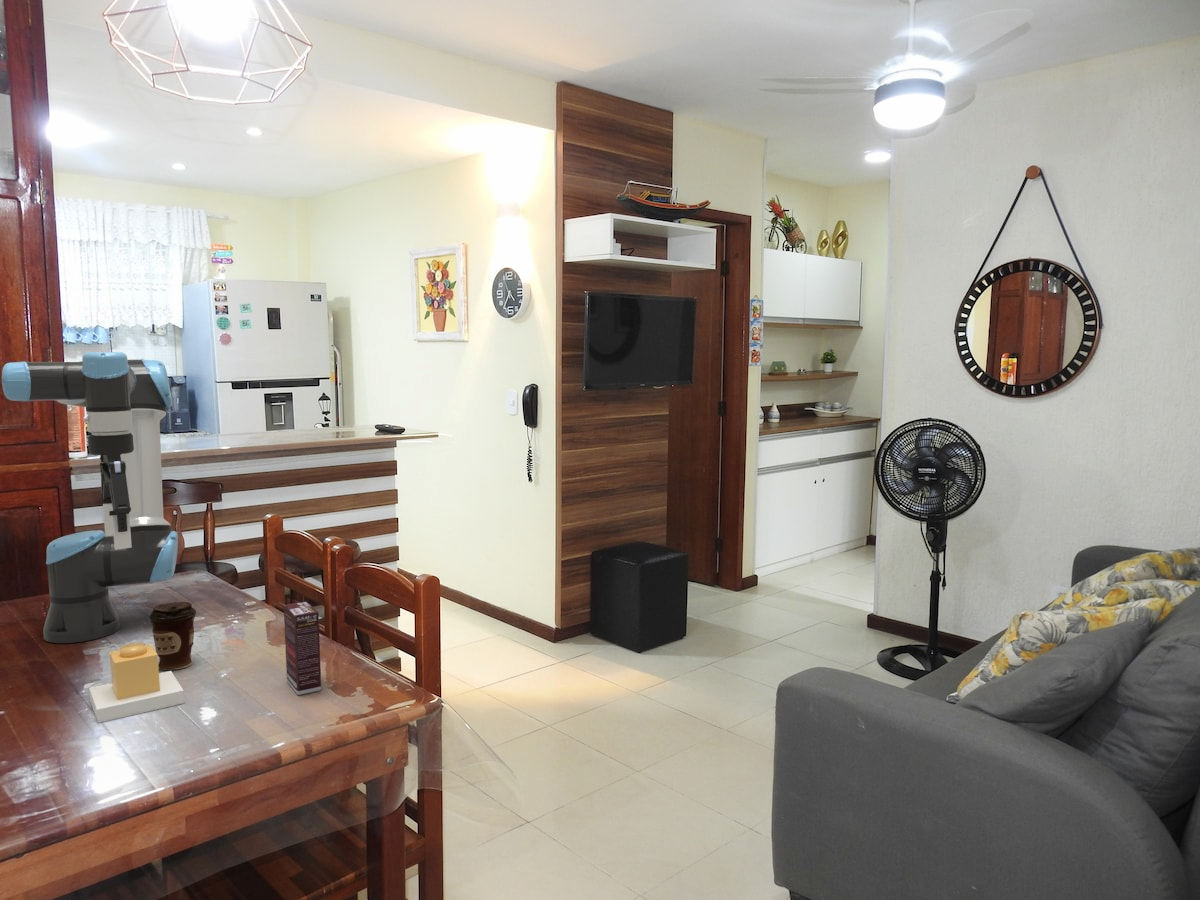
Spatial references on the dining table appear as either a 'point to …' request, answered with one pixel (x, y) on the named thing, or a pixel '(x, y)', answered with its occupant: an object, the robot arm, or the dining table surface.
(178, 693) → the white rectangular block
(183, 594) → the dining table surface
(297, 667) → the supplement box
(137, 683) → the cube with hemisphere knob
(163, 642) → the coffee cup
